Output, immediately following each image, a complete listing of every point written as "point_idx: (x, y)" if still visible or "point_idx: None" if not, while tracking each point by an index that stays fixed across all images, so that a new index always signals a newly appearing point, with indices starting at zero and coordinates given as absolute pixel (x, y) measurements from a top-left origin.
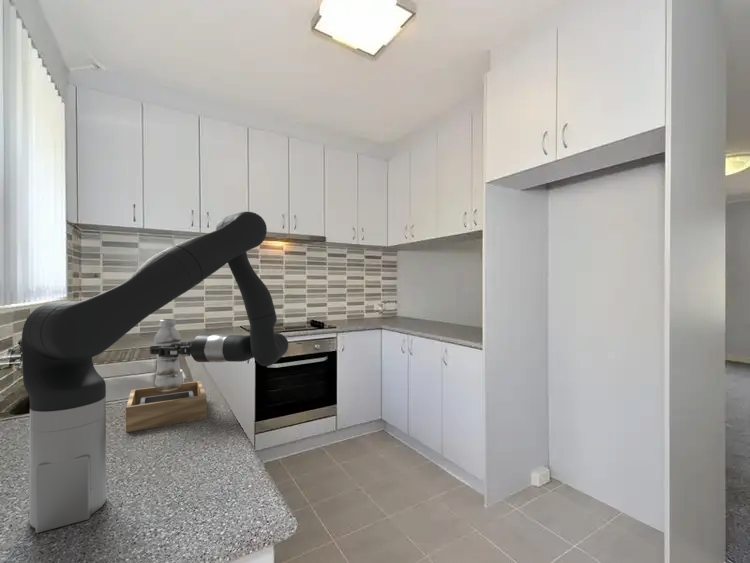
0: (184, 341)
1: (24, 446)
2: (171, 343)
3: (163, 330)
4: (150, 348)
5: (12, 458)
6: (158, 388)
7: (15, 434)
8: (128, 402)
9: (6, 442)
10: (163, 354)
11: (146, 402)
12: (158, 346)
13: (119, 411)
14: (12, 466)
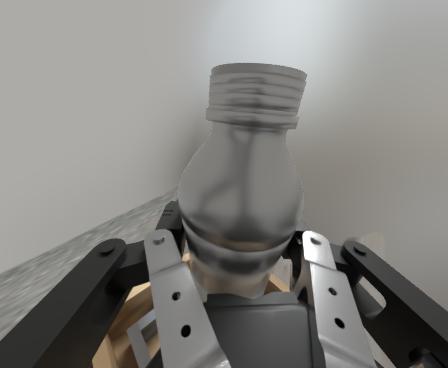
0: (306, 261)
1: (98, 235)
2: (207, 242)
3: (205, 145)
4: (171, 203)
5: (52, 251)
6: None
7: (144, 207)
8: (136, 287)
9: (121, 214)
10: (115, 292)
11: None
12: (172, 216)
13: None
14: (7, 273)
